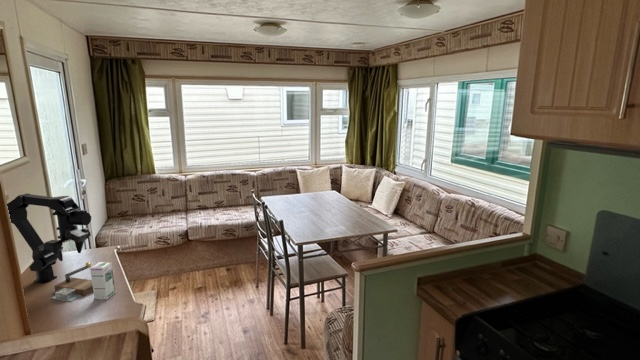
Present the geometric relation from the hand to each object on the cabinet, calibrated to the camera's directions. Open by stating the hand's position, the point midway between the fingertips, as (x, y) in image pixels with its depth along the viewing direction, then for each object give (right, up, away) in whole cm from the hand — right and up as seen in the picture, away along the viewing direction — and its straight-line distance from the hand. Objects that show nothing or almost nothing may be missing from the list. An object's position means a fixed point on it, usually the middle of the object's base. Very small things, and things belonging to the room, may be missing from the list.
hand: (70, 256), depth 159 cm
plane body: (+7, -13, -5) cm, 16 cm away
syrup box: (+23, -15, -11) cm, 29 cm away
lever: (+4, -9, 0) cm, 10 cm away
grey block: (+7, -14, -12) cm, 20 cm away
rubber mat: (+7, -15, -12) cm, 20 cm away
